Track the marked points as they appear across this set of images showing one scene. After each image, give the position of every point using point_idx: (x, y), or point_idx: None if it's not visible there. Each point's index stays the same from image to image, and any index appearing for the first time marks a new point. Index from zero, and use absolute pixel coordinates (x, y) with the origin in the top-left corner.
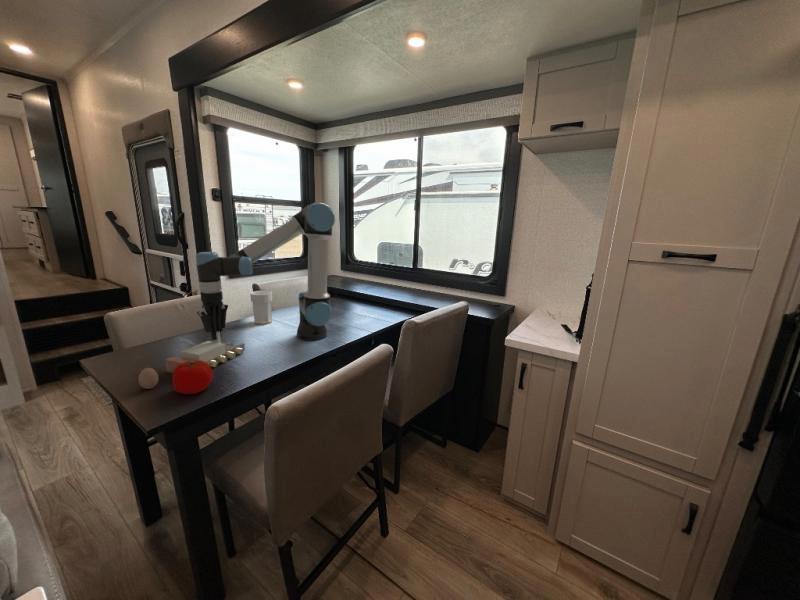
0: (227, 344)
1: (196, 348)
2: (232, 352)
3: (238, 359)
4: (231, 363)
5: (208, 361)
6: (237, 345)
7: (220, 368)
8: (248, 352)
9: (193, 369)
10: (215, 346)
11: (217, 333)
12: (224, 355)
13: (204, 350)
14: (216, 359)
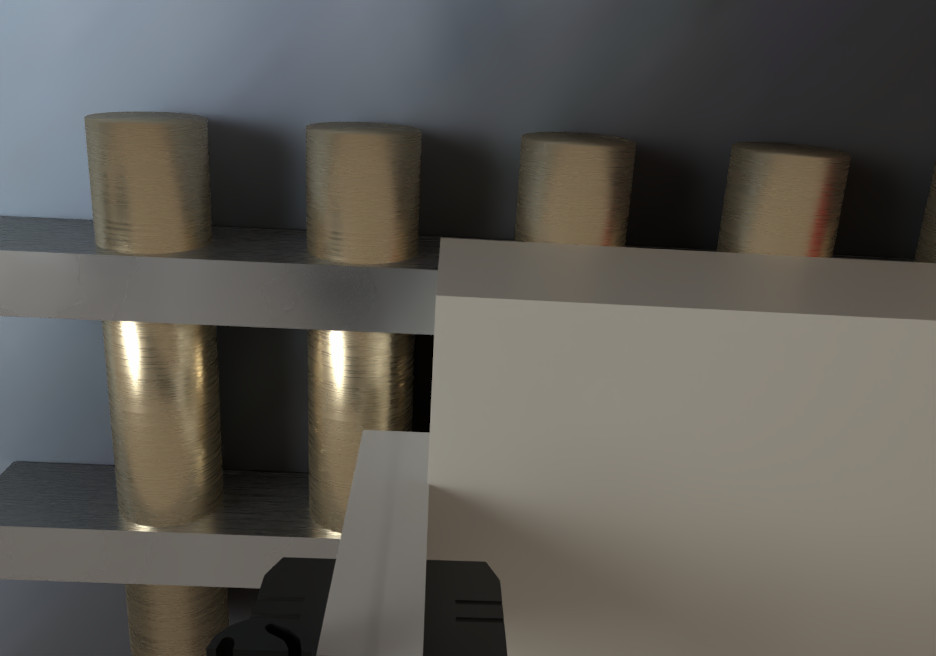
0: (86, 524)
1: (845, 634)
2: (362, 146)
3: (363, 13)
4: (548, 7)
5: None
6: (48, 306)
7: (772, 38)
8: (33, 68)
9: None
10: (650, 373)
11: (418, 637)
12: None
13: (917, 413)
14: None
